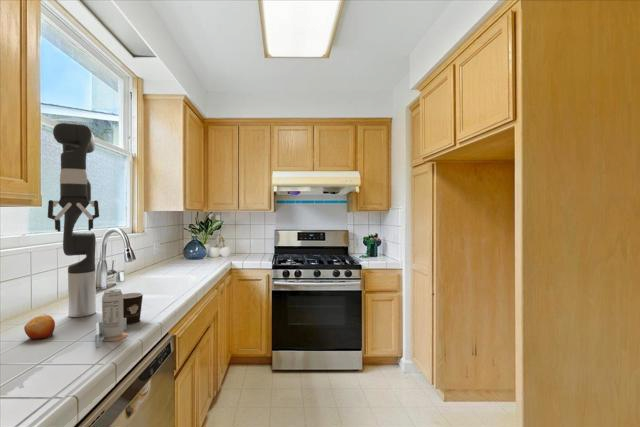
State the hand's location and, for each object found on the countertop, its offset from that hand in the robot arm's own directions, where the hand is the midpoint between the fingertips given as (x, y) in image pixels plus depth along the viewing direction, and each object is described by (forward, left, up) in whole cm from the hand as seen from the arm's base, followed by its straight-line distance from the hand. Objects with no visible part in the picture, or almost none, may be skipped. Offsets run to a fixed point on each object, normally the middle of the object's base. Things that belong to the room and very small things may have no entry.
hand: (74, 230), depth 120 cm
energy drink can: (+11, +11, -35) cm, 38 cm away
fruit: (-3, -10, -35) cm, 37 cm away
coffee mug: (-5, +15, -35) cm, 39 cm away
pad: (+11, +11, -35) cm, 39 cm away
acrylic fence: (+11, +10, -35) cm, 38 cm away
